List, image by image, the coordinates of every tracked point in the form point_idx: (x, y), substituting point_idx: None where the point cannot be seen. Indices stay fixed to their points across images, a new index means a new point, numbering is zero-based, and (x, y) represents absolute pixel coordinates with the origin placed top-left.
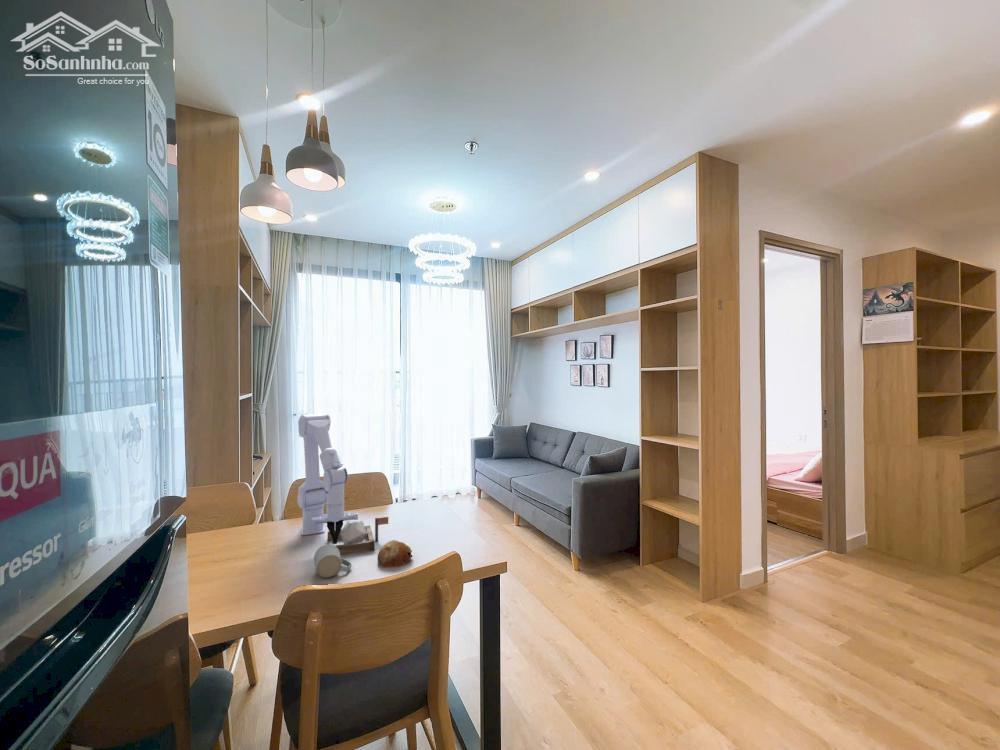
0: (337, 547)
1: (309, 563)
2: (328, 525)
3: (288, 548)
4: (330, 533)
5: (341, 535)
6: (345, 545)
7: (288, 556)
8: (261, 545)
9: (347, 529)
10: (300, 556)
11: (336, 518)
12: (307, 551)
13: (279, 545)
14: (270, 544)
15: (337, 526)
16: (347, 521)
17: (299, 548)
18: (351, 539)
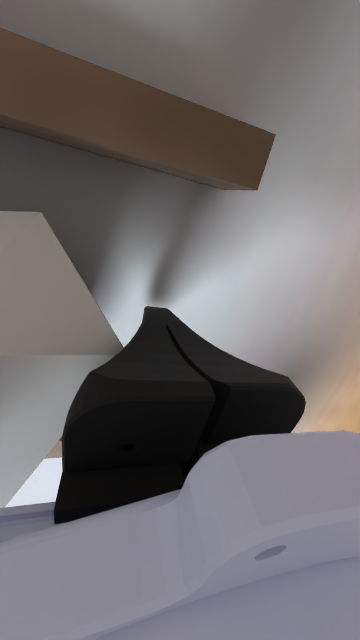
0: (184, 101)
1: (355, 130)
2: (283, 420)
3: (313, 380)
4: (217, 348)
5: (109, 324)
6: (87, 77)
7: (356, 307)
8: (349, 425)
9: (16, 331)
10: (328, 279)
11: (260, 585)
12: (279, 322)
13: (319, 411)
14: (331, 424)
15: (170, 377)
16: (7, 499)
17: (287, 366)
18: (1, 211)
